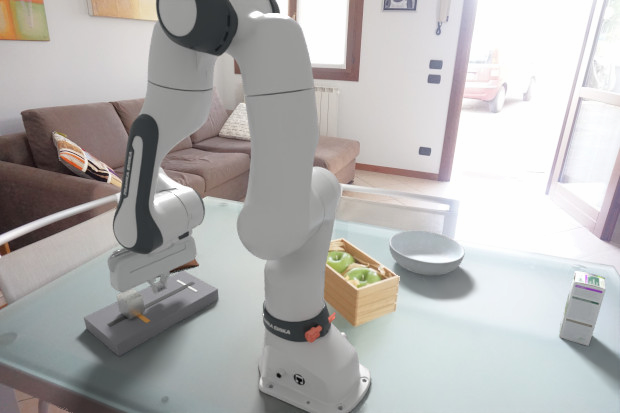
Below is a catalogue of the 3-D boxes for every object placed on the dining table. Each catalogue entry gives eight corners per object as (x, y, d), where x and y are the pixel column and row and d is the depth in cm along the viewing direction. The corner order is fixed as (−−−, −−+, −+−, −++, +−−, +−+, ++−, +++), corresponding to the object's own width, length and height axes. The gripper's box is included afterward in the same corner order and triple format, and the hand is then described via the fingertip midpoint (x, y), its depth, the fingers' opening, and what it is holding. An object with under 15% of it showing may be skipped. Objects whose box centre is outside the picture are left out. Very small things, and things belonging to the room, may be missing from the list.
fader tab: (145, 311, 92) (142, 294, 90) (129, 319, 89) (126, 302, 87) (134, 304, 94) (131, 287, 92) (119, 311, 91) (116, 294, 90)
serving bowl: (461, 291, 107) (465, 268, 105) (382, 276, 114) (384, 254, 111) (461, 255, 126) (464, 235, 123) (392, 245, 132) (394, 225, 129)
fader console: (218, 299, 102) (217, 288, 101) (119, 356, 83) (116, 344, 82) (184, 280, 110) (183, 270, 109) (86, 328, 91) (83, 316, 90)
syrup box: (589, 347, 88) (608, 289, 83) (557, 337, 91) (574, 280, 86) (588, 332, 92) (607, 277, 87) (559, 323, 95) (574, 269, 90)
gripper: (114, 259, 81) (125, 316, 86) (197, 226, 96) (202, 277, 102) (98, 249, 85) (109, 305, 90) (181, 219, 100) (186, 268, 105)
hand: (159, 290), depth 96 cm, fingers closed
